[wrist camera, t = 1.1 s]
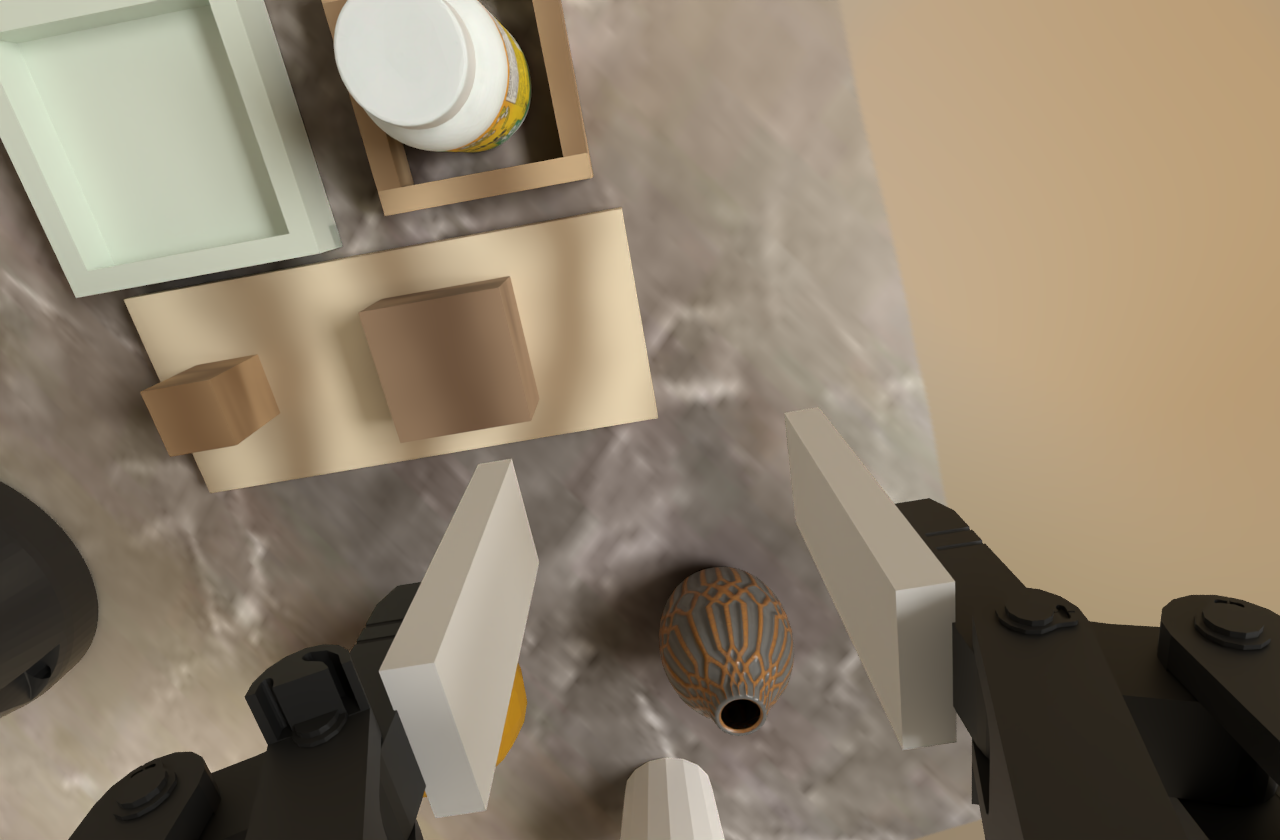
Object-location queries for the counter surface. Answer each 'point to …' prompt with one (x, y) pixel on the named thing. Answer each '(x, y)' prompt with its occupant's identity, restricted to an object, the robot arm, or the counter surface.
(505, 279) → the walnut block
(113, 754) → the counter surface
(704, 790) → the white cylinder
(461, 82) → the supplement bottle
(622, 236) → the board
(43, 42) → the tray
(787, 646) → the vase
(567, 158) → the oak collar
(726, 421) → the counter surface
